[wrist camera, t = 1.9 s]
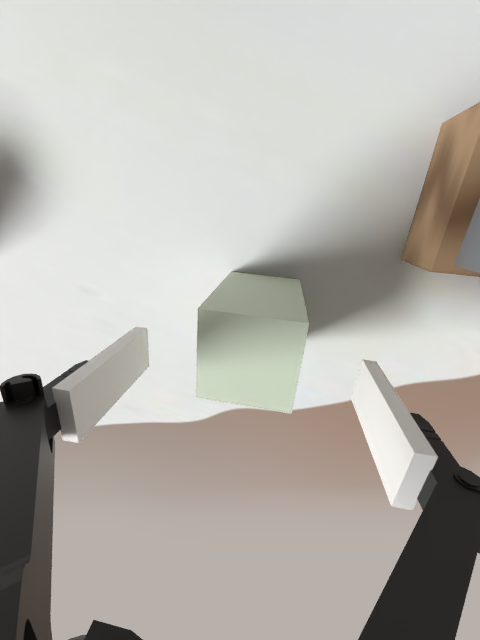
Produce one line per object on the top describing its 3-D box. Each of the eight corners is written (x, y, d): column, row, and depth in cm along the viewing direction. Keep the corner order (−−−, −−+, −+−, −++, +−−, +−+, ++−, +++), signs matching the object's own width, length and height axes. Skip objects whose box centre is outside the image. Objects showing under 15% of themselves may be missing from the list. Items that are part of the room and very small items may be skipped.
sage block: (231, 271, 24) (197, 308, 15) (299, 279, 23) (309, 323, 14) (227, 332, 26) (196, 397, 17) (289, 341, 25) (291, 413, 16)
